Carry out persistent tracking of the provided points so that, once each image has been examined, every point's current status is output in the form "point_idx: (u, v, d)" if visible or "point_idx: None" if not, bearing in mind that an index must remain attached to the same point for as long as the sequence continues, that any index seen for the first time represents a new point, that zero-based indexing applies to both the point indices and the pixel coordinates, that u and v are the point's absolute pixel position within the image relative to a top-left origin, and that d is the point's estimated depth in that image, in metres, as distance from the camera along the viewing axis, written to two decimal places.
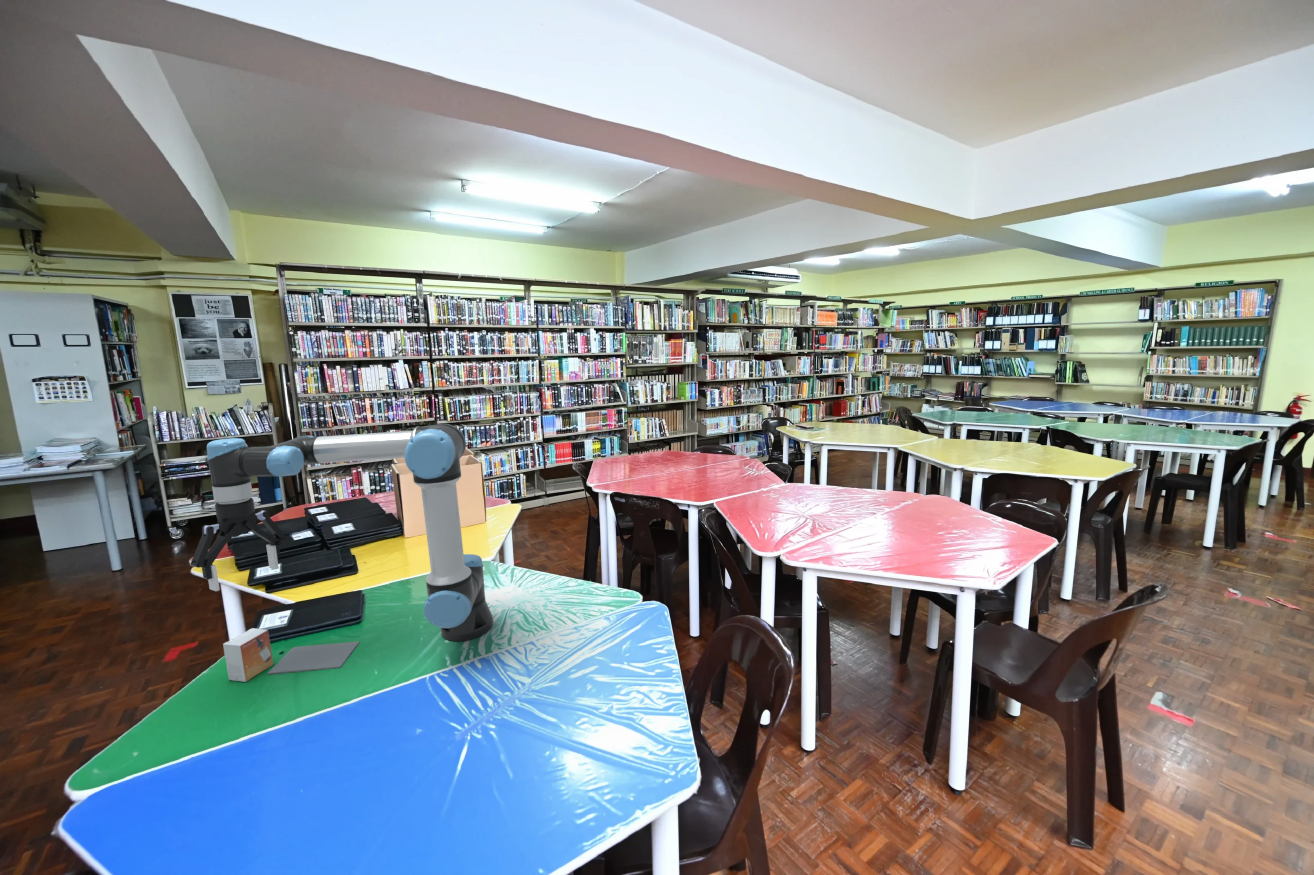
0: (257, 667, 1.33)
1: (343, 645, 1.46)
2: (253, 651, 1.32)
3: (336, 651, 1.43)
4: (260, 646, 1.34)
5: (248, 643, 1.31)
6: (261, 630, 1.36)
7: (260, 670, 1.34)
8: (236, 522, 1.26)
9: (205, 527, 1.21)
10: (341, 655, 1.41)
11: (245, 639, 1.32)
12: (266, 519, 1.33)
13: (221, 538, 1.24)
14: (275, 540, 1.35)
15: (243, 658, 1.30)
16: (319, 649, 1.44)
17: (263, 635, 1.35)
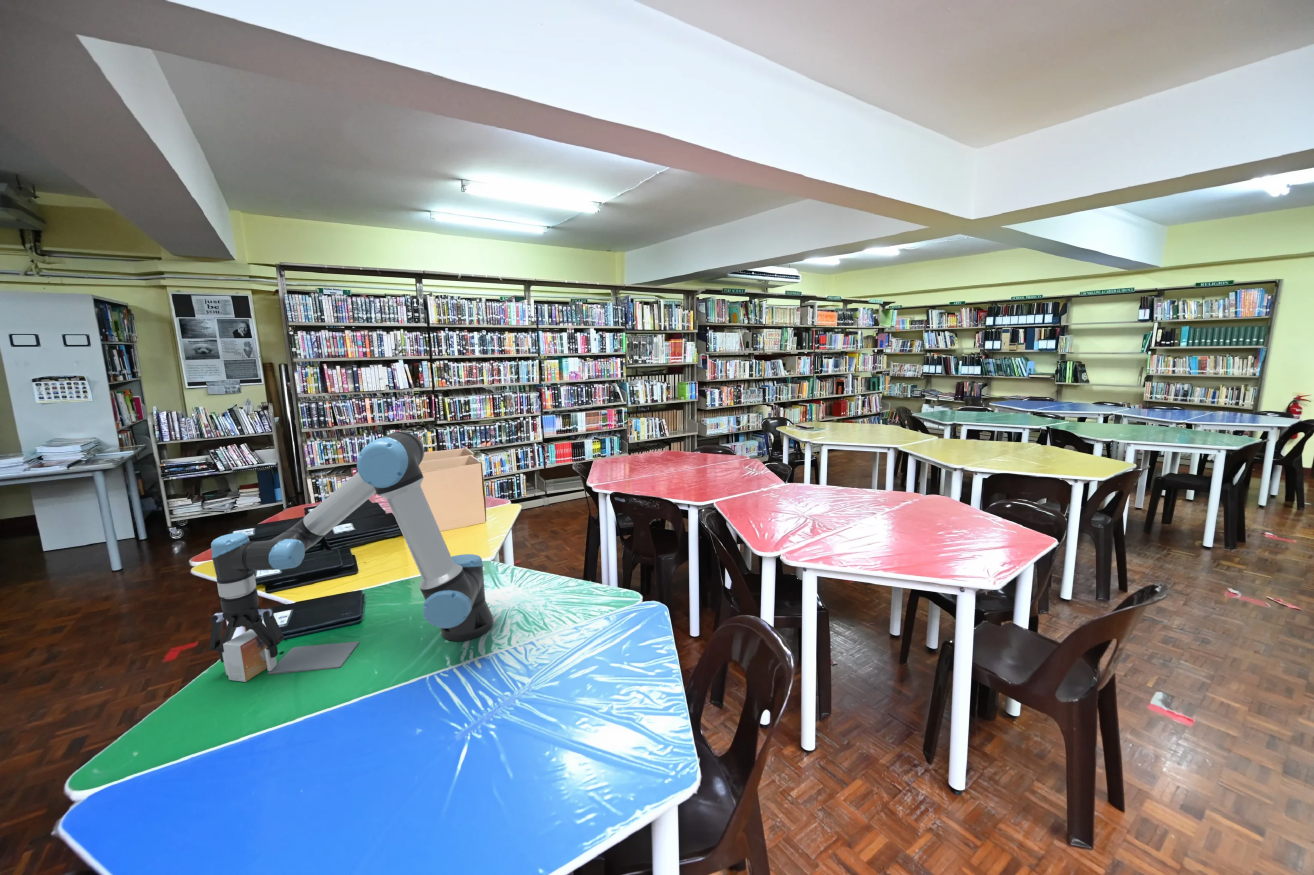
0: (257, 667, 1.33)
1: (343, 645, 1.46)
2: (253, 651, 1.32)
3: (336, 651, 1.43)
4: (260, 646, 1.34)
5: (248, 643, 1.31)
6: None
7: (260, 670, 1.34)
8: (235, 612, 1.30)
9: None
10: (341, 655, 1.41)
11: (245, 639, 1.32)
12: (264, 619, 1.32)
13: None
14: (268, 643, 1.33)
15: (243, 658, 1.30)
16: (319, 649, 1.44)
17: None
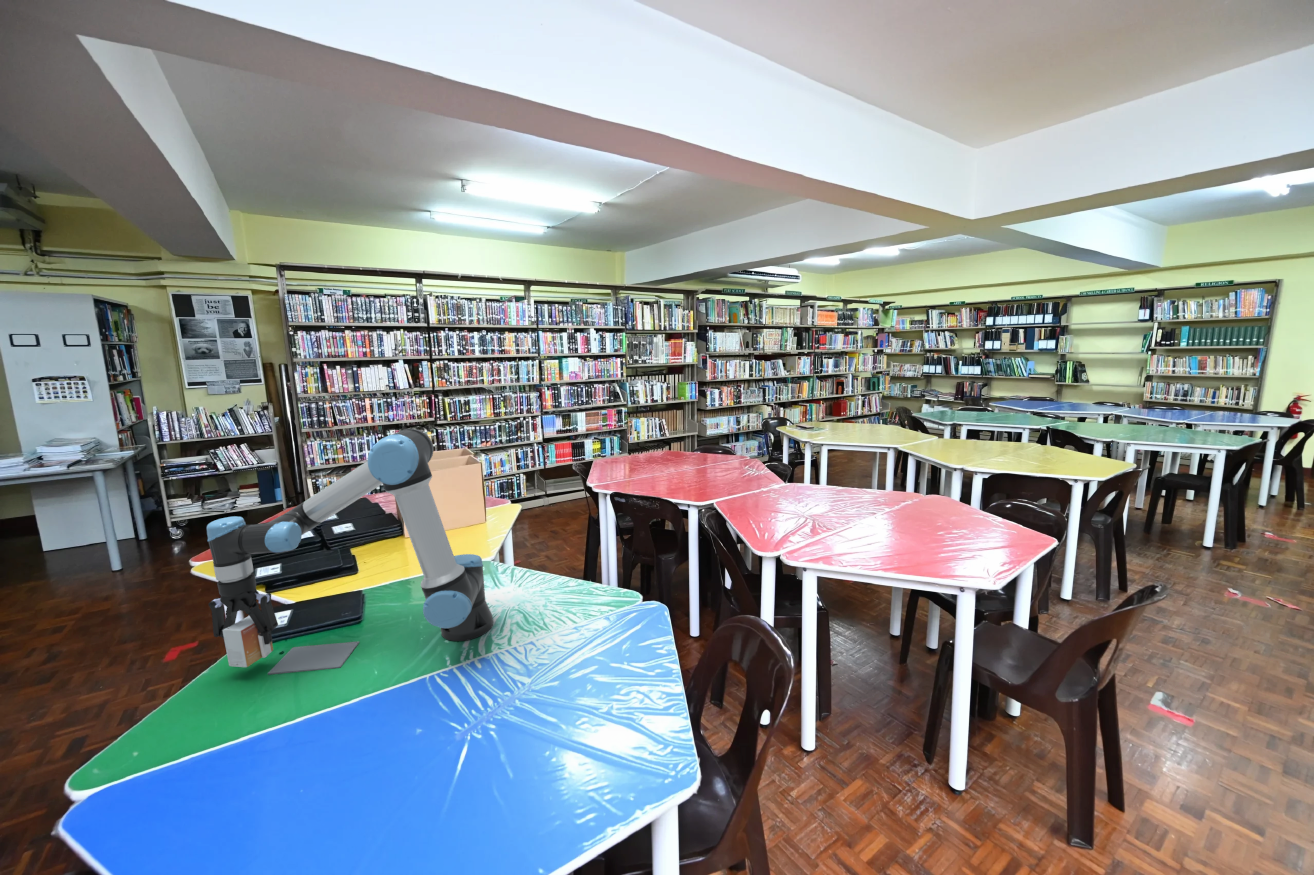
0: (257, 653, 1.33)
1: (343, 645, 1.46)
2: (253, 636, 1.32)
3: (336, 651, 1.43)
4: None
5: (248, 628, 1.30)
6: None
7: (261, 656, 1.34)
8: (232, 595, 1.30)
9: None
10: (341, 655, 1.41)
11: (245, 624, 1.31)
12: (261, 604, 1.31)
13: None
14: (262, 629, 1.32)
15: (243, 643, 1.29)
16: (319, 649, 1.44)
17: None
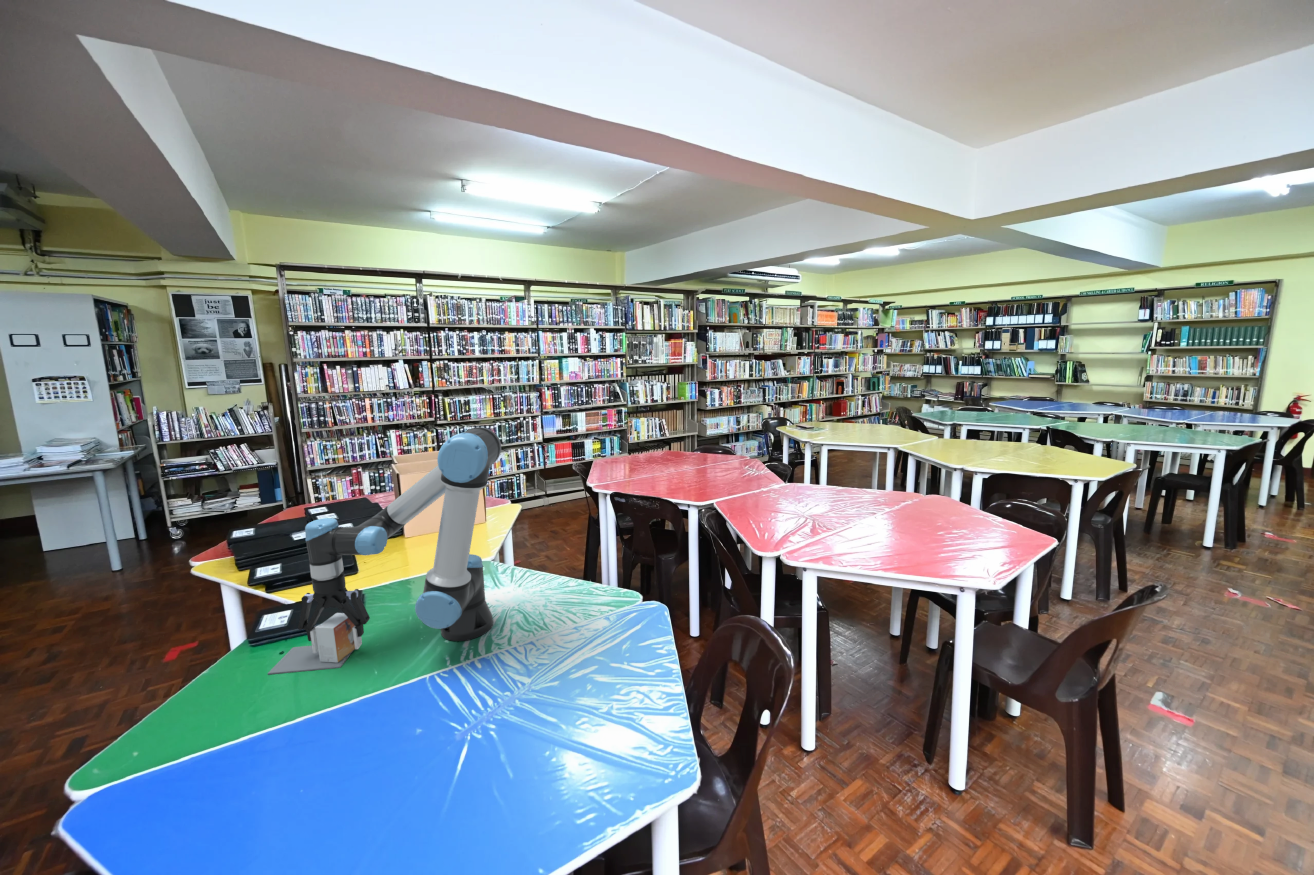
0: (346, 649, 1.40)
1: None
2: (343, 633, 1.39)
3: None
4: (348, 629, 1.41)
5: (339, 625, 1.38)
6: None
7: (348, 652, 1.41)
8: (325, 594, 1.37)
9: None
10: None
11: (336, 622, 1.39)
12: (351, 600, 1.38)
13: None
14: (356, 622, 1.39)
15: (335, 640, 1.36)
16: None
17: None
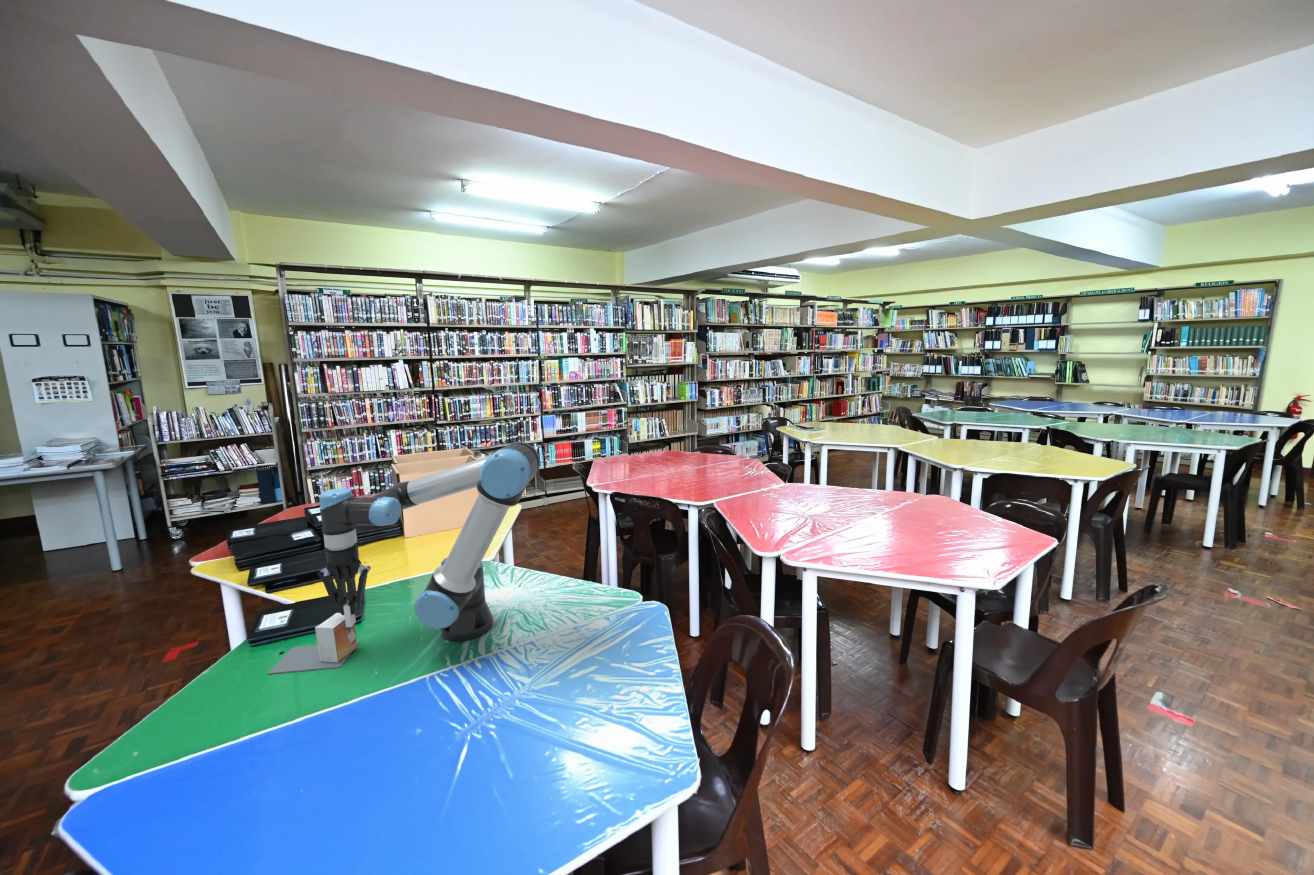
0: (346, 649, 1.40)
1: None
2: (343, 633, 1.39)
3: None
4: (348, 629, 1.41)
5: (339, 625, 1.38)
6: None
7: (348, 652, 1.41)
8: None
9: None
10: None
11: (335, 622, 1.39)
12: (360, 575, 1.37)
13: None
14: (351, 600, 1.38)
15: (335, 639, 1.36)
16: None
17: None
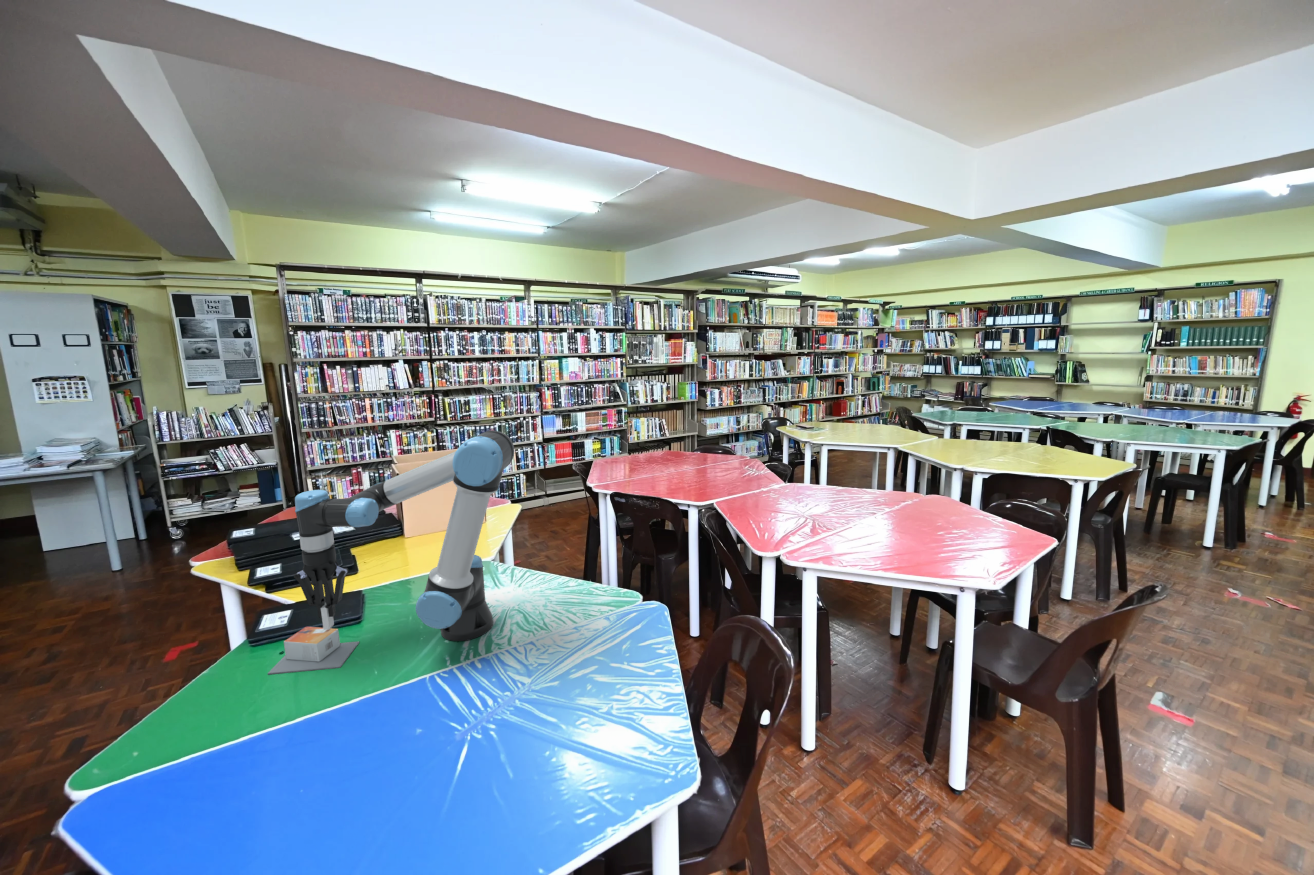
0: (320, 636, 1.41)
1: (343, 645, 1.46)
2: (303, 635, 1.41)
3: (336, 651, 1.43)
4: (308, 632, 1.43)
5: (291, 637, 1.40)
6: None
7: (326, 635, 1.41)
8: None
9: None
10: (341, 655, 1.41)
11: None
12: (337, 577, 1.37)
13: None
14: (329, 602, 1.37)
15: (296, 641, 1.38)
16: None
17: (303, 629, 1.44)
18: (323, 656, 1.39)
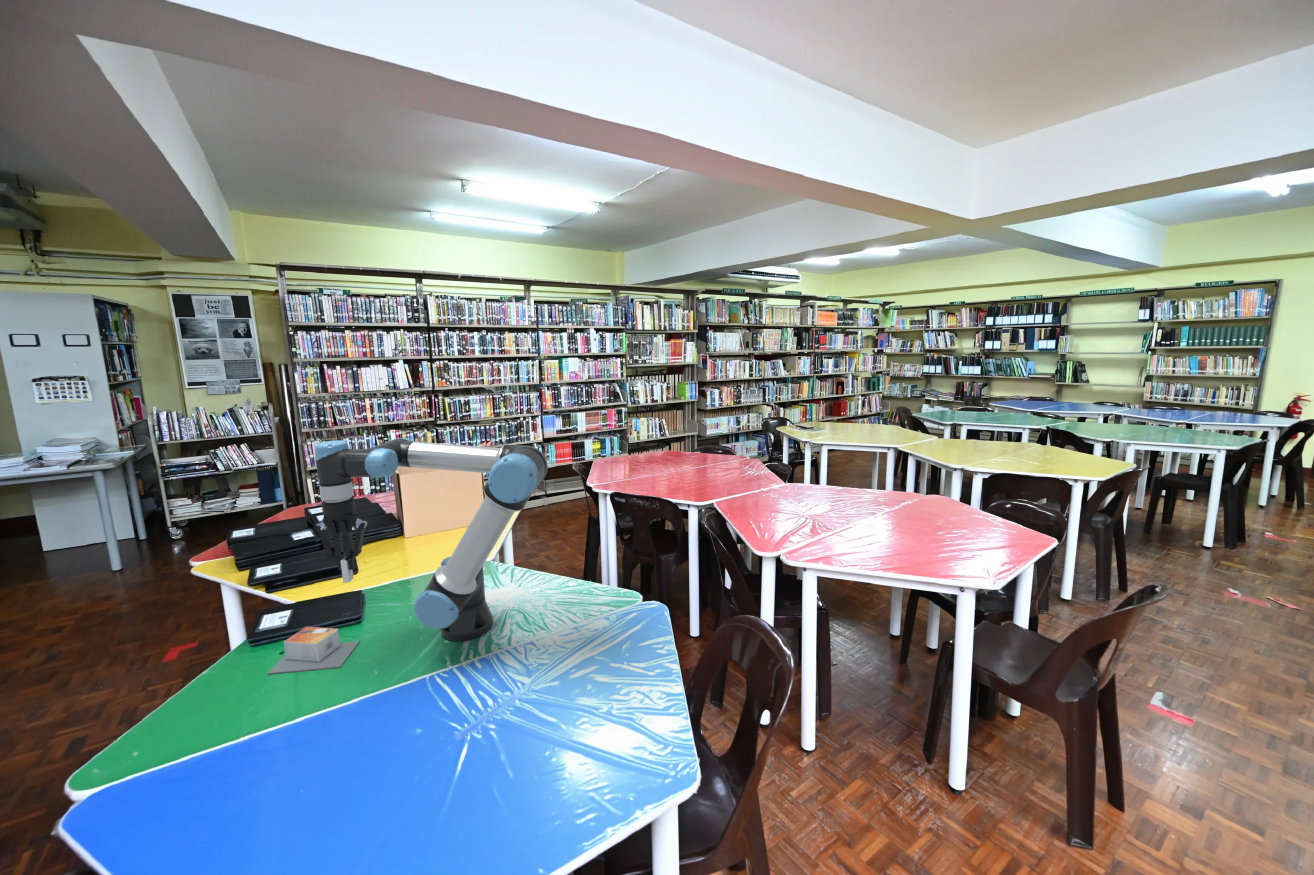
0: (320, 636, 1.41)
1: (343, 645, 1.46)
2: (303, 635, 1.41)
3: (336, 651, 1.43)
4: (308, 632, 1.43)
5: (291, 637, 1.40)
6: None
7: (326, 635, 1.41)
8: None
9: None
10: (341, 655, 1.41)
11: None
12: (357, 529, 1.35)
13: None
14: (348, 554, 1.36)
15: (296, 641, 1.38)
16: None
17: (303, 629, 1.44)
18: (323, 656, 1.39)
